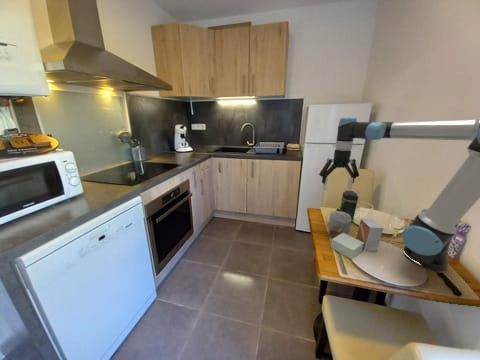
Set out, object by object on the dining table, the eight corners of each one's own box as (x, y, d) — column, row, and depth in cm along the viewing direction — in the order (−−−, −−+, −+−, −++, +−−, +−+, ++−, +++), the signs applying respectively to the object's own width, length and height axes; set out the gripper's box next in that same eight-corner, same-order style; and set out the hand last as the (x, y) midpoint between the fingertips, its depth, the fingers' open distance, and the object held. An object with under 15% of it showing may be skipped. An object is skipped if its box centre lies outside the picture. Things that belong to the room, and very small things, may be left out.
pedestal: (361, 251, 95) (363, 242, 93) (350, 259, 89) (353, 250, 88) (341, 241, 102) (343, 232, 101) (330, 247, 97) (332, 239, 95)
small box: (355, 240, 102) (360, 218, 98) (367, 241, 102) (373, 219, 98) (363, 251, 95) (369, 227, 91) (377, 251, 94) (384, 227, 90)
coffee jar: (353, 224, 118) (360, 196, 112) (339, 222, 120) (345, 194, 114) (350, 217, 126) (356, 190, 121) (337, 215, 129) (342, 188, 123)
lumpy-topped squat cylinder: (346, 223, 119) (349, 210, 117) (351, 235, 107) (355, 221, 105) (327, 220, 122) (330, 208, 119) (331, 232, 110) (333, 218, 107)
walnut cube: (340, 236, 106) (342, 228, 104) (338, 240, 102) (339, 232, 101) (331, 233, 109) (332, 225, 107) (328, 237, 105) (329, 228, 104)
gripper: (362, 148, 104) (355, 186, 110) (315, 148, 103) (311, 186, 110) (372, 150, 97) (363, 191, 103) (322, 150, 96) (316, 191, 102)
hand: (336, 189), depth 106 cm, fingers open, 13 cm apart
